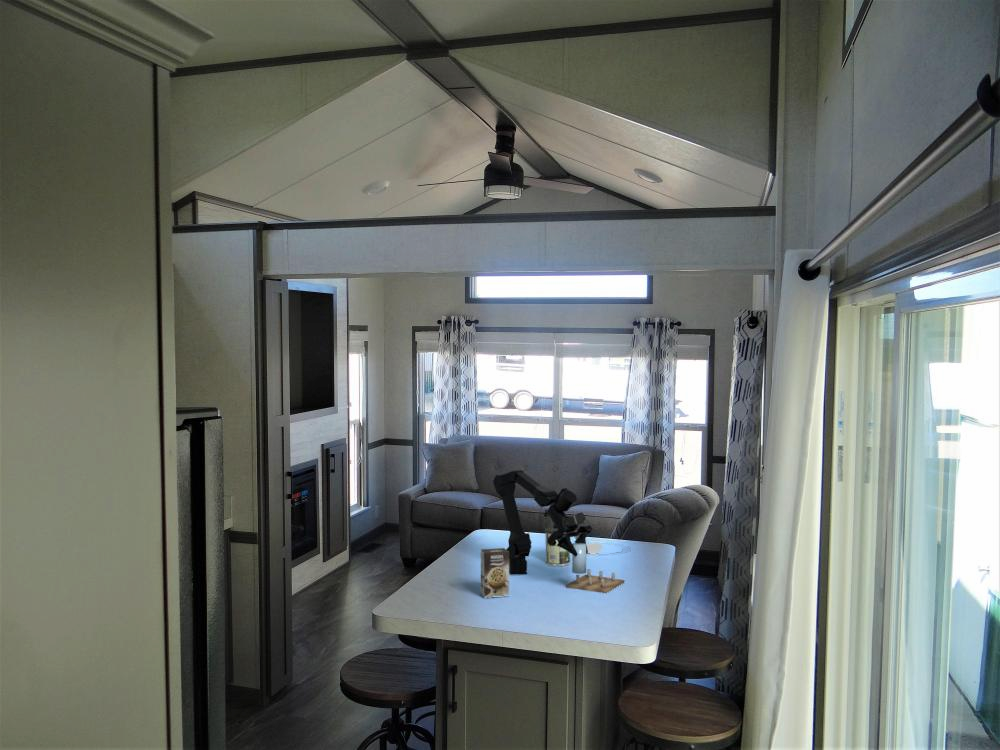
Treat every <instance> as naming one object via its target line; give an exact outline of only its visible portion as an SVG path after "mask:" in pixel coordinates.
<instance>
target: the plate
mask: <svg viewBox="0 0 1000 750" xmlns="http://www.w3.org/2000/svg"><path fill="white" fill-rule="evenodd" d="M601 542H605V541H601V540H599V541H598V540H597V541H596V540H594V541H586V545H587V549H588V553H590V554H588V553H587V554H586V557H593V556H595V555H597V554H596V552H597V553H598V552H599V551H601V549H602V547H603V546H602V545H601V544H602V543H601ZM612 542H613V541H612ZM614 543H616V542H615V541H614V542H613V543H612V544H614ZM603 549H604V548H603Z"/></svg>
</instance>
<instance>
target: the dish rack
mask: <svg viewBox="0 0 1000 750" xmlns="http://www.w3.org/2000/svg"><path fill="white" fill-rule="evenodd" d="M586 573H587V574H584V575H582V576H580V575H581V574H576V576H575V579H574V580H572V581H570V582H568V583H567V584H566V588H570V587H571V589H577V590H582V591H590V592H597V593H601V592H602V593H601V594H608V593H610V592H611V591H613V590H615V589H616V587H617V586H618V587H620V586H622V585H623V584H625V583H624V582H626V581H625V580H624V579H618V578H616V572H611V577H606V576H603V574H604V573H603V570H599V571H598V573H599V575H592V574H591V569H590V568H588V569H587V568H586ZM622 583H623V584H622ZM621 584H622V585H621ZM619 585H620V586H619ZM618 587H617V588H618ZM614 588H615V589H614ZM612 589H613V590H612ZM609 591H610V592H609ZM607 592H608V593H607Z"/></svg>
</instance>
